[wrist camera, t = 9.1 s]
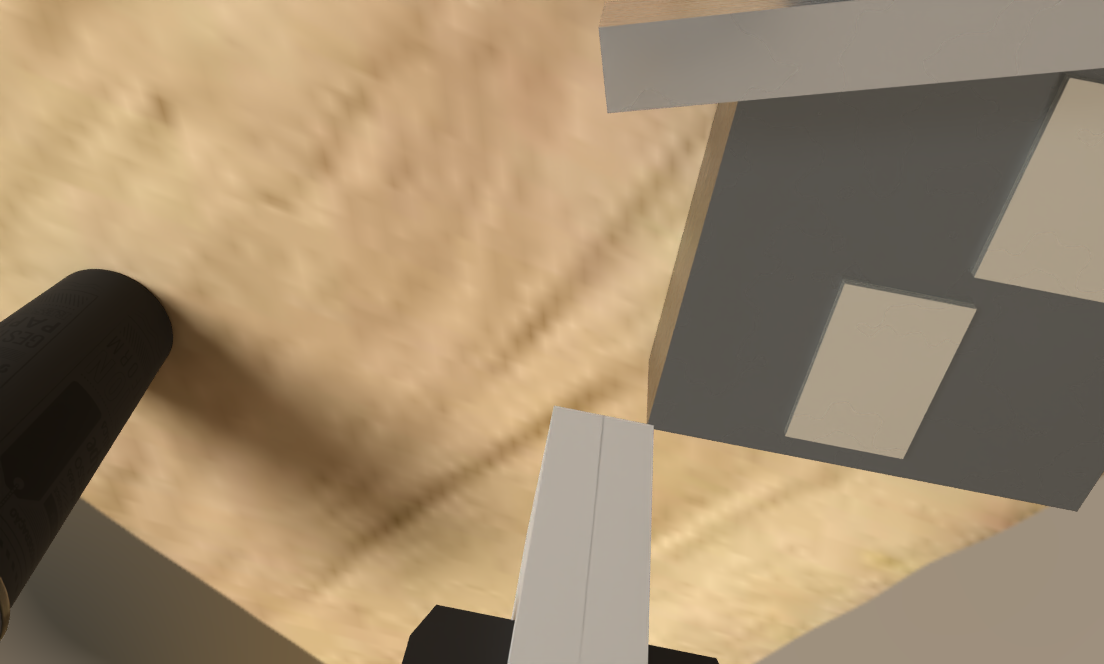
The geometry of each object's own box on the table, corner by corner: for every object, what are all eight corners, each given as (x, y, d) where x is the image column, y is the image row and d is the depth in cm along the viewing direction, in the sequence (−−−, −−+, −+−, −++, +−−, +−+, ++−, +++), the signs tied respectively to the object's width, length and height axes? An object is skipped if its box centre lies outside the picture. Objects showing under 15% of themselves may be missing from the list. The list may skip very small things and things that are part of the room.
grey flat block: (814, -257, 24) (844, -255, 20) (1383, -148, 24) (1527, -123, 20) (648, 361, 35) (645, 442, 31) (1038, 437, 35) (1086, 528, 31)
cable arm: (1498, -129, 20) (1611, -111, 17) (1441, 24, 21) (1537, 60, 19) (602, -26, 23) (595, 2, 20) (615, 101, 24) (609, 140, 22)
